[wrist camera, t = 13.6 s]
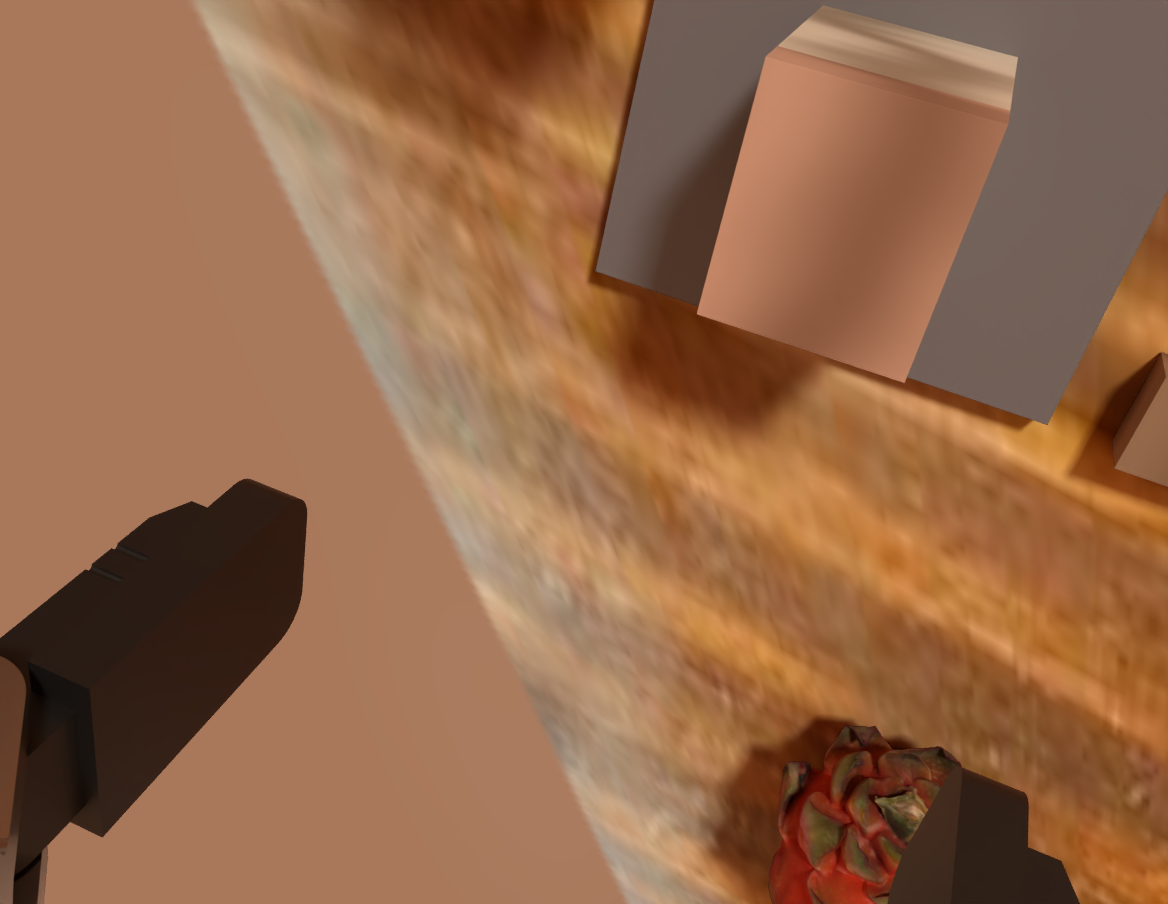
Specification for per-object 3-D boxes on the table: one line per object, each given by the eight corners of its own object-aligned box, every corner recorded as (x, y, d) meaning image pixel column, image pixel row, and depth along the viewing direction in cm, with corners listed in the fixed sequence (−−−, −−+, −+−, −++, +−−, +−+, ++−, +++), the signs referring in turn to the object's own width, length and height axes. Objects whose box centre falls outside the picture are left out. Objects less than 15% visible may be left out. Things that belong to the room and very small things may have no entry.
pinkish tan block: (734, 300, 32) (681, 319, 24) (827, 19, 30) (803, -63, 22) (902, 355, 31) (905, 394, 23) (1009, 69, 29) (1055, 2, 21)
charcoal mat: (606, 260, 35) (595, 271, 34) (699, -164, 28) (689, -162, 28) (1047, 409, 33) (1047, 425, 32) (1264, -19, 26) (1271, -14, 25)
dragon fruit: (896, 628, 40) (957, 835, 46) (687, 738, 39) (776, 934, 45) (1049, 789, 33) (1098, 1010, 39) (795, 928, 32) (885, 1131, 38)
